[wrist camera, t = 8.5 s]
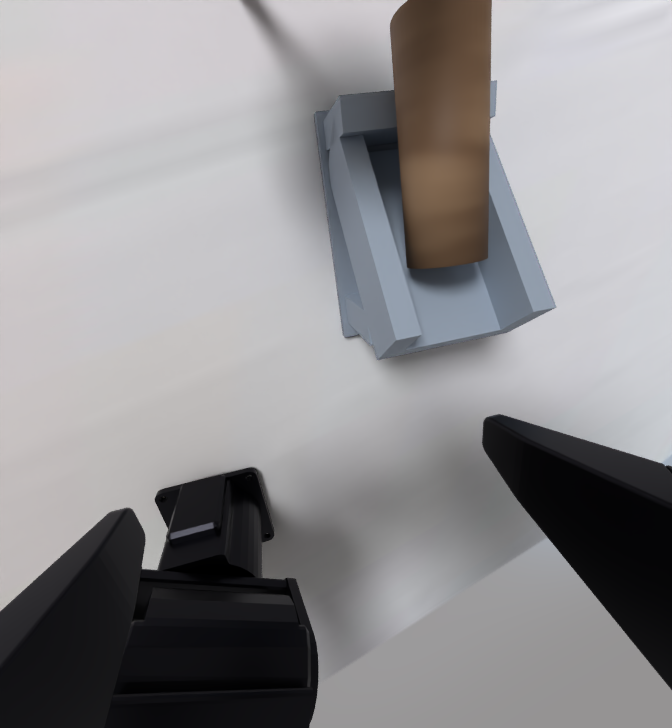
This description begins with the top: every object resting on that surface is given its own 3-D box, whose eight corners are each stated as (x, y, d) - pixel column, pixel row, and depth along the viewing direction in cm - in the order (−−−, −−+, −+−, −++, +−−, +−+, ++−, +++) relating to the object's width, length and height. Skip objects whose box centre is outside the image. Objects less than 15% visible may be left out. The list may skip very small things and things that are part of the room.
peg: (460, 254, 16) (457, 37, 13) (506, 256, 13) (515, -25, 10) (395, 266, 15) (377, 44, 12) (427, 271, 12) (413, -20, 9)
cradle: (450, 313, 22) (555, 360, 14) (343, 334, 21) (392, 398, 13) (452, 100, 17) (606, 2, 10) (313, 115, 16) (364, 16, 9)
